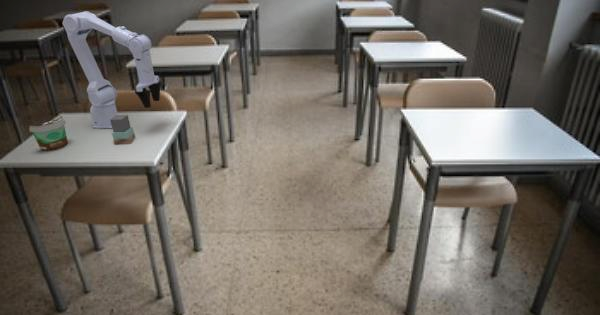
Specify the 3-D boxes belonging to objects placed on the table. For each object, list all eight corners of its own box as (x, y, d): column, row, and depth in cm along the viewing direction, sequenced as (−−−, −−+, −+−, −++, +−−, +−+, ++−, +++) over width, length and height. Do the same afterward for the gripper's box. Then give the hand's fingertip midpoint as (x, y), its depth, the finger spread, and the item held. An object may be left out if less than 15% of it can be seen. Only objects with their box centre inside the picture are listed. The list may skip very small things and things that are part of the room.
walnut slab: (114, 146, 154) (113, 140, 153) (119, 139, 159) (118, 133, 158) (131, 145, 154) (129, 138, 153) (135, 138, 160) (134, 132, 158)
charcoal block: (113, 132, 153) (110, 119, 151) (119, 127, 157) (116, 115, 155) (124, 132, 152) (121, 119, 150) (130, 127, 156) (127, 115, 154)
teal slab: (113, 139, 154) (111, 132, 152) (120, 133, 158) (118, 127, 157) (127, 139, 153) (126, 132, 152) (134, 133, 158) (132, 126, 157)
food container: (46, 155, 148) (37, 129, 143) (36, 151, 151) (27, 126, 146) (78, 142, 157) (71, 117, 152) (69, 139, 160) (61, 114, 155)
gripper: (146, 74, 148) (153, 110, 154) (163, 64, 161) (169, 98, 167) (127, 74, 149) (135, 110, 156) (146, 64, 162) (153, 97, 168)
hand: (152, 104), depth 161 cm, fingers open, 7 cm apart
